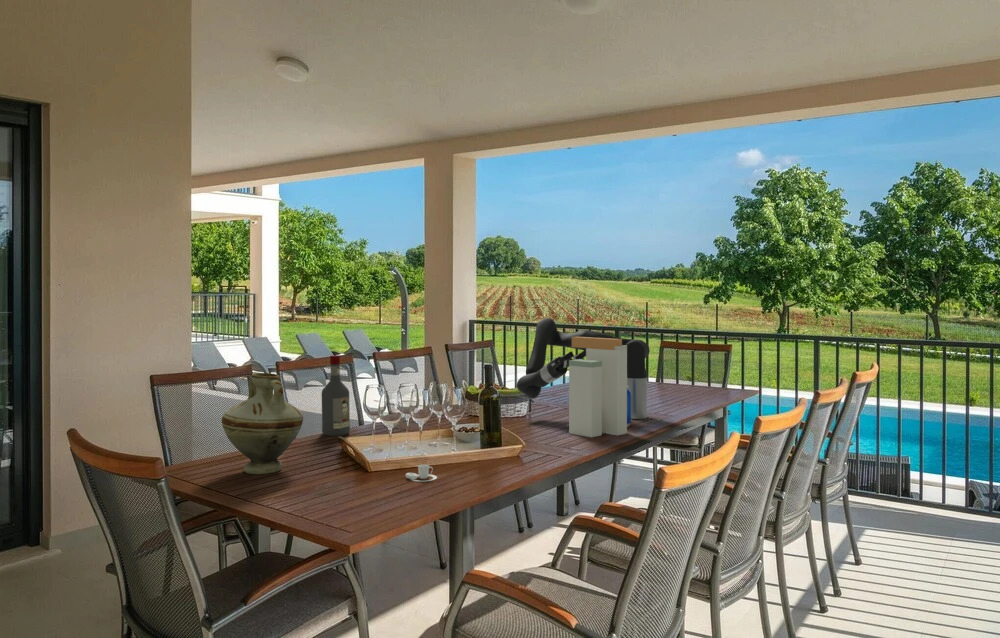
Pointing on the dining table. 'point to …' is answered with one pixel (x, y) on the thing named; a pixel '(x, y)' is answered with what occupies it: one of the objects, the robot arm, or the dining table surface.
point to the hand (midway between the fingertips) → (579, 352)
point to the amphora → (263, 424)
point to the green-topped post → (585, 397)
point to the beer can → (628, 406)
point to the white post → (613, 388)
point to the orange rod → (596, 343)
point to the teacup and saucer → (421, 473)
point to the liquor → (335, 403)
